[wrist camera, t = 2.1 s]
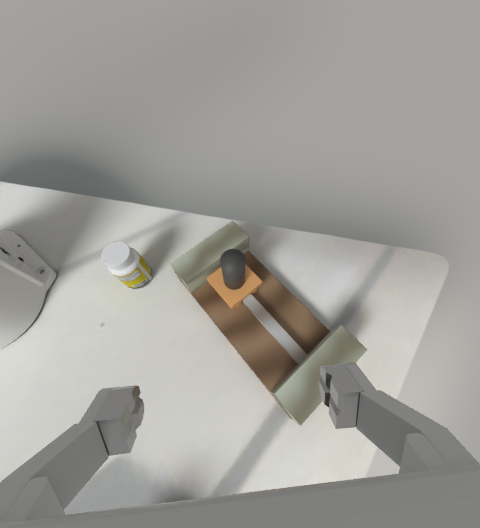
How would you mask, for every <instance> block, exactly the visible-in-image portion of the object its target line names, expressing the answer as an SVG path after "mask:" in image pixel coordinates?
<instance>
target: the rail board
mask: <svg viewBox="0 0 480 528" xmlns="http://www.w3.org/2000/svg"><path fill="white" fill-rule="evenodd" d="M229 249H237V250H240V251H241V252H242V253H243V254H244V255H245V259H246V262H245V264H246V265H247V266H248V267H249V268H250V269H251V270H252V271H253V272H254V273H255V274H256V275H257V276H258V277H259V279H260V280H261V281H262V285H261V286H260V287H259V288H257V292H255V293H254V294H252V293H251V294H250V295H249V296H248V297H246V298H245V299H244V300H243V301H242V302H241V305H240V306H239V307H237V306H236V307H234V308H233V309H231V308H230V307H229V305H228V304H227V303H226V302H225V301H224V300H223V298H222V297H221V296H220V295H219V294H218V293H217V291H216V290H215V289H214V288H213V287H212V286H211V284H210V283H209V282H208V281H207V277H208V276H210V275H211V274H212V273H214V272H215V271H216V270H218V269H219V268H220V267H221V263H220V258H221V255H222V254H223V253H224V252H225V251H227V250H229ZM248 249H249V236H248V235H247V234H246V233H245V232H244V231H243V230H242V229H241V228H240V227H239V226H238V225H237V224H236V223H235V222H233V221H232V222H230V223H229V224H227V225H226V226H224V227H223V228H222V229H220V230H219V231H217V232H216V233H214V234H213V235H211V236H210V237H208V238H207V239H206V240H204V241H203V242H201V243H200V244H198V245H197V246H195V247H194V248H192V249H191V250H190V251H188V252H187V253H185V254H184V255H182V256H181V257H179V258H178V259H177V260H175V261H174V262H172V263H171V266H172V268H173V269H174V271H175V273H176V274H177V276H178V278H179V279H180V281H181V282H182V283H183V284H184V286H185V287H186V288H187V289H188V291H189V292H190V293H191V294H192V296H193V297H194V298H195V299H196V301H197V302H198V303H199V304H200V306H201V307H202V308H203V309H204V311H205V312H206V313H207V314H208V316H209V317H210V318H211V319H212V321H213V322H214V323H215V324H216V326H217V327H218V328H219V329H220V331H221V332H222V333H223V334H224V336H225V337H226V338H227V339H228V341H229V342H230V343H231V344H232V346H233V347H234V348H235V349H236V351H237V352H238V353H239V354H240V356H241V357H242V358H243V359H244V361H245V362H246V363H247V364H248V366H249V367H250V368H251V369H252V371H253V372H254V373H255V374H256V376H257V377H258V378H259V379H260V381H261V382H262V383H263V384H264V386H265V387H266V388H267V389H268V391H269V392H270V393H271V394H272V396H273V397H274V398H275V399H276V401H277V402H278V403H279V404H280V406H281V407H282V408H283V409H284V411H285V412H286V413H287V414H288V415H289V417H290V418H291V419H293V420H294V421H295V422H297V423H298V424H299V425H302V424H303V422H304V421H305V420H306V419H307V418H308V417H309V416H310V414H311V413H312V412H313V411H314V410H315V409H316V408H317V406H318V405H319V404H320V403H321V402H322V401H323V400H322V397H321V394H320V388H319V381H320V379H321V378H322V377H321V375H320V367H321V366H324V365H333V364H342V363H349V362H354V363H356V362H357V361H358V360H359V358H360V357H361V356H362V355H363V354H364V353H365V352H366V350H367V349H366V348H365V347H364V346H363V345H362V344H361V343H360V342H359V341H358V340H357V339H356V338H355V337H354V336H353V335H352V334H351V333H349V332H348V331H347V330H346V329H345V328H344V327H343V326H342V325H340V326H338V327H337V328H335V329H333V330H331V331H329V330H328V329H327V328H326V327H325V326H324V325H323V324H322V323H321V322H320V321H319V320H318V319H317V318H316V317H315V316H314V315H313V314H312V313H311V312H310V311H309V310H308V309H307V308H306V307H305V306H303V305H302V304H301V303H300V302H299V301H298V300H297V299H296V298H295V297H294V296H293V295H292V294H291V293H290V292H289V291H288V290H287V289H286V288H285V287H284V286H283V285H282V284H281V283H280V282H279V281H278V280H277V279H276V278H275V277H274V276H273V275H272V274H271V273H270V272H269V271H268V270H267V269H266V268H265V267H264V266H263V265H262V264H261V263H260V262H259V261H258V260H257V259H256V258H255V257H254V256H253V255H252V254H251V253H250V252H249V251H248Z"/></svg>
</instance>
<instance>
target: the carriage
mask: <svg viewBox="0 0 480 528" xmlns="http://www.w3.org/2000/svg"><path fill="white" fill-rule="evenodd" d="M245 262H246V259H245V255H244V254H243V253H242V252H241V251H240V250H237V249H229V250H227V251H225V252H224V253H223V254H222V255H221V258H220V263H221V267H220V268H219V269H218V270H216V271H215V272H214V273H212V274H211V275H210V276H208V277H207V281H208V282H209V283H210V284H211V286H212V287H213V288H214V289H215V290H216V291H217V293H218V294H219V295H220V296H221V297H222V298H223V300H224V301H225V302H226V303H227V304H228V305H229V307H230V308H231V309H233V308H234V307H236V306H237V307H239V306H240V305H241V302H242V301H243V300H244V299H245V298H246V297H248V296H249V295H250V294H251V293H252V294H254V293H255V292H257V288H259V287H260V286H261V285H262V281H261V280H260V279H259V277H258V276H257V275H256V274H255V273H254V272H253V271H252V270H251V269H250V268H249V267H248V266H247V265H246V264H245Z"/></svg>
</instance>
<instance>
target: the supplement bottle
mask: <svg viewBox="0 0 480 528" xmlns="http://www.w3.org/2000/svg"><path fill="white" fill-rule="evenodd" d="M101 259H102V261H103V263H104V264H105V265H106V266H107V268H108V270H109V271H110V272H111V273H112V274H113V275H114V276H115V277H117V278H118V279H119V280H120V281H122V282H123V283H124V284H125V285H127V286H128V287H129V288H132V289H141V288H143V287H145V286H147V285H148V284H149V283H150V281H151V279H152V275H153V273H152V269H151V268H150V267H149V265H148V264H147V263H146V262H145V260H144V259H143V258H142V257H141V256H140V254H139V253H138V252H137V251H136V250H135V249H133V248H131V247H129V246H128V245H127V244H126V243H124V242H121V241H117V242H113V243H110V244H109V245H107V246H106V247H105V248H104V249H103V251H102V254H101Z"/></svg>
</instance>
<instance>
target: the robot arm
mask: <svg viewBox="0 0 480 528" xmlns="http://www.w3.org/2000/svg"><path fill="white" fill-rule="evenodd" d="M43 272H44V273H43ZM55 278H56V272H55V271H54V270H53V269H52V268H51V267H50V266H49V265H48V264H47V263H46V262H45V261H44V260H43V259H42V258H41V257H40V256H39V255H38V254H37V253H36V252H35V251H34V250H33V249H32V248H31V247H30V246H29V245H28V244H27V243H26V242H25V241H24V240H23V239H22V238H21V237H20V236H19V235H18V234H17V233H15V232H13V231H11V230H7V231H0V348H3V347H4V346H6V345H8V344H10V343H11V342H13V341H14V340H15V339H17V338H18V337H19V336H20V335H22V334H23V333H24V332H25V331H26V330H27V329H28V328H29V327H30V325H31V324H32V323H33V322H34V320H35V319H36V317H37V316H38V314H39V312H40V310H41V308H42V305H43V302H44V299H45V295H46V292H47V290H48V289H49V288H50V286H51V285H52V283H53V282H54V280H55ZM320 375H321V377H322V378H321V379H320V381H319V388H320V394H321V397H322V400H323V402H324V404H325V405H326V406H328V407H329V415H330V417H331V419H332V421H333V424H334V426H335V428H336V429H339V428H351V427H357V429H358V430H359V431H360V432H361V433H363V434H364V435H365V436H366V437H367V438H368V439H369V440H370V441H372V442H373V443H374V444H375V445H376V446H377V447H378V448H379V449H381V450H382V451H383V452H384V453H385V454H386V455H387V456H389V457H390V458H391V459H392V460H393V461H394V462H395V463H396V464H398V465H399V466H400V470H399V474H393V475H385V476H377V477H369V478H361V479H353V480H344V481H336V482H328V483H320V484H312V485H304V486H296V487H288V488H280V489H272V490H265V491H257V492H249V493H240V494H232V495H224V496H216V497H208V498H200V499H191V500H183V501H175V502H167V503H159V504H151V505H143V506H135V507H127V508H118V509H110V510H102V511H94V512H86V513H78V514H70V515H66V514H65V512H64V509H65V507H66V506H67V505H68V504H69V503H70V502H71V500H72V499H73V498H74V497H75V496H76V495H77V493H78V492H79V491H80V490H81V489H82V488H83V486H84V485H85V484H86V483H87V482H88V481H89V480H90V478H91V477H92V476H93V475H94V474H95V473H96V471H97V470H98V469H99V468H100V467H101V466H102V464H103V463H104V462H105V461H106V460H107V459H108V457H109V456H110V455H117V454H124V453H131V450H132V447H133V444H134V442H135V439H136V436H137V435H136V431H135V430H136V429H137V428H138V427H139V426H140V425H141V422H142V419H143V414H144V404H143V400H142V399H140V398H139V395H140V389H139V386H125V387H114V388H104V389H101V390H100V391H99V392H98V394H97V395H96V397H95V398H94V400H93V402H92V403H91V405H90V406H89V408H88V409H87V411H86V413H85V414H84V416H83V417H82V419H81V421H80V422H79V424H74V425H73V426H72V427H70V428H69V429H68V430H67V431H65V432H64V433H63V434H61V435H60V436H59V437H58V438H56V439H55V440H54V441H52V442H51V443H50V444H49V445H47V446H46V447H45V448H43V449H42V450H41V451H40V452H38V453H37V454H36V455H34V456H33V457H32V458H31V459H29V460H28V461H27V462H25V463H24V464H23V465H22V466H20V467H19V468H18V469H16V470H15V471H14V472H13V473H11V474H10V475H9V476H7V477H6V478H5V479H4V480H2V482H1V483H0V528H480V464H479V463H478V462H477V460H476V459H475V458H473V456H472V455H471V454H470V453H469V452H468V451H467V450H466V449H465V447H464V446H463V445H462V444H461V443H460V442H459V441H458V440H457V439H456V438H455V437H454V436H453V435H452V434H451V432H450V431H449V430H448V429H447V428H445V427H443V426H442V425H440V424H438V423H436V422H435V421H433V420H431V419H429V418H428V417H426V416H424V415H422V414H420V413H419V412H417V411H415V410H414V409H412V408H410V407H408V406H407V405H405V404H403V403H401V402H400V401H398V400H396V399H394V398H393V397H391V396H389V395H387V394H386V393H384V392H382V391H380V390H376V389H375V388H374V386H373V385H372V384H371V383H370V381H369V380H368V379H367V377H366V376H365V375H364V373H363V372H362V371H361V369H360V368H359V367H358V366H357V364H356V363H354V362H349V363H342V364H333V365H324V366H321V367H320Z"/></svg>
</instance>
